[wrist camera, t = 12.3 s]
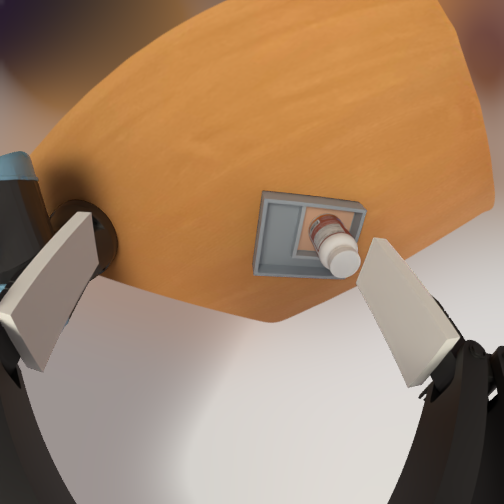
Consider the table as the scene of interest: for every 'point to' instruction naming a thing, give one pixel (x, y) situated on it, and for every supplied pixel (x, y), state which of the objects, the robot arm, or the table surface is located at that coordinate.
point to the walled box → (297, 233)
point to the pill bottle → (334, 245)
